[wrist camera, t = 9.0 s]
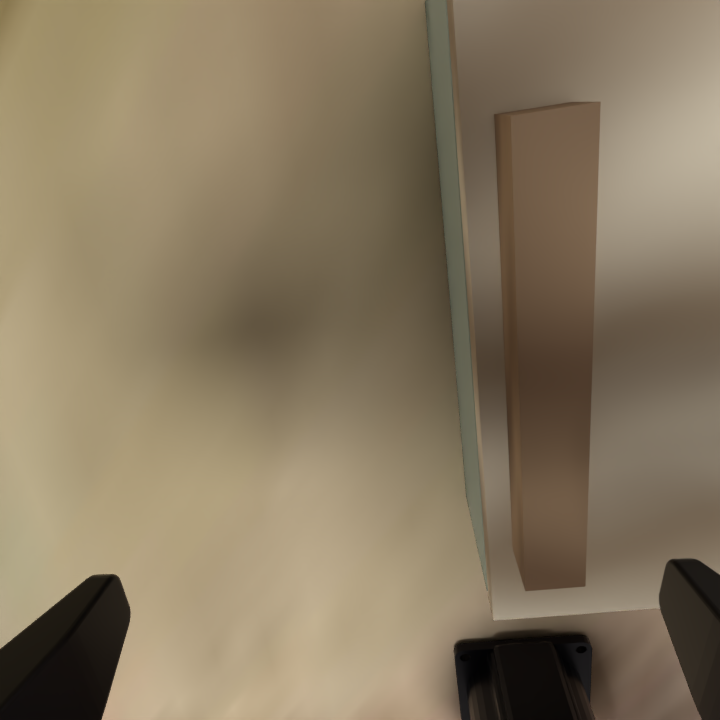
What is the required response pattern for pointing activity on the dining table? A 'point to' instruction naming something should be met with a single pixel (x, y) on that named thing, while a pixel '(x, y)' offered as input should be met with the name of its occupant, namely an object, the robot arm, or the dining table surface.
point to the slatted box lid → (591, 292)
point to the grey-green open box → (455, 254)
